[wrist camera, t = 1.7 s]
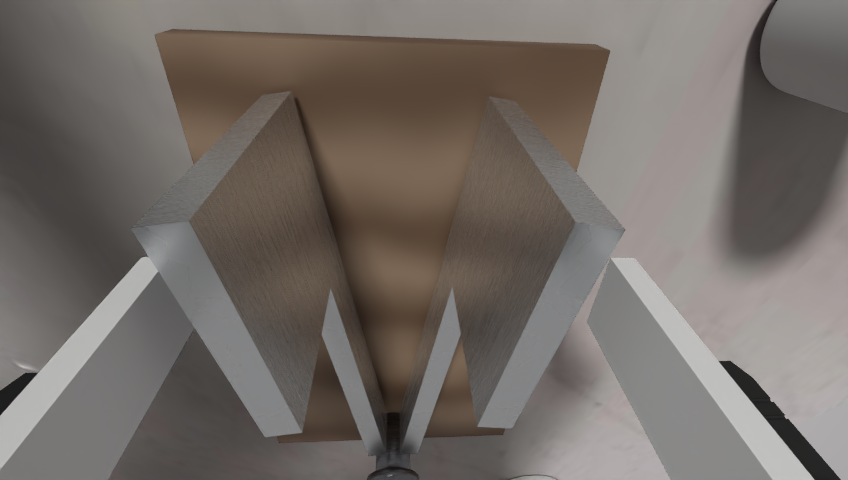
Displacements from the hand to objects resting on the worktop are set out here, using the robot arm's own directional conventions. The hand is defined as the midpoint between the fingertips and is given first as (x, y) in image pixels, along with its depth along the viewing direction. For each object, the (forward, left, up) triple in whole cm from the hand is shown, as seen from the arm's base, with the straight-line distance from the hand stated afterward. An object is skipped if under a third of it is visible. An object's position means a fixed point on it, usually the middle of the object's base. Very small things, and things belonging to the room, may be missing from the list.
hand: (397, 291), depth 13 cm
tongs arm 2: (+8, +3, -8) cm, 11 cm away
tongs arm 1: (+8, -3, -8) cm, 11 cm away
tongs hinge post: (+21, 0, -8) cm, 22 cm away
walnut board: (+9, 0, -10) cm, 13 cm away
